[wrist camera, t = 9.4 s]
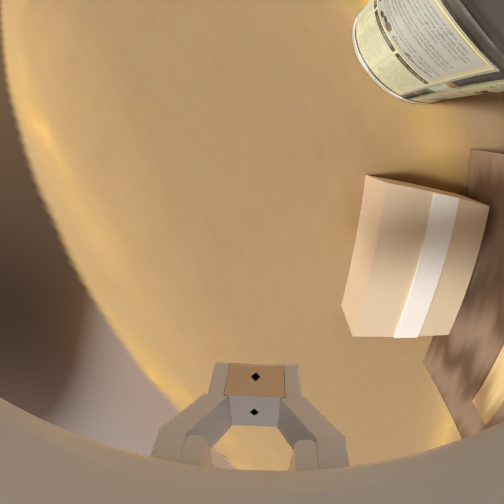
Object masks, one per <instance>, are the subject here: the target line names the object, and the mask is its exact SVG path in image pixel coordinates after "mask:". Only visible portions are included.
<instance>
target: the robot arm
mask: <svg viewBox="0 0 504 504" xmlns="http://www.w3.org/2000/svg"><path fill="white" fill-rule="evenodd" d="M231 425H247V426H272V427H278V429H279V431H280V432H281V433H282V435H283V436H284V438H285V439H286V440H287V442H288V443H289V445H290V446H291V447H292V449H293V454H292V458H291V462H290V466H289V470H288V471H258V470H238V469H225V468H215V467H214V464H213V461H212V458H211V454H210V449H211V448H212V447H213V446H214V445H215V444H216V443H217V442H218V440H219V439H220V438H221V437H222V436H223V435H224V434H225V433H226V432H227V430H228V429H229V428H230V427H231ZM0 504H504V422H502V423H500V424H497V425H495V426H493V427H491V428H489V429H486V430H484V431H481V432H479V433H477V434H474V435H472V436H469V437H466V438H464V439H461V440H458V441H455V442H452V443H449V444H446V445H443V446H440V447H437V448H434V449H430V450H427V451H423V452H420V453H416V454H412V455H408V456H404V457H399V458H395V459H390V460H385V461H380V462H374V463H368V464H362V465H355V466H349V461H348V454H347V448H346V442H345V437H344V436H343V435H342V434H341V433H340V432H339V431H338V430H337V429H336V428H335V427H334V426H333V425H332V424H331V423H330V422H329V421H328V420H327V419H326V418H325V417H324V416H323V415H322V414H321V413H320V412H319V411H318V410H317V409H316V408H315V407H314V406H313V405H312V404H311V403H310V402H309V401H308V400H307V399H306V398H303V397H301V389H300V377H299V366H298V365H297V364H288V365H266V364H257V365H256V364H240V363H223V362H216V363H215V365H214V370H213V374H212V378H211V383H210V387H209V391H208V394H203V395H202V396H201V397H199V398H198V399H197V400H196V401H194V402H193V403H192V404H191V405H189V406H188V407H187V408H186V409H184V410H183V411H182V412H181V413H179V414H178V415H177V416H175V417H174V418H173V419H172V420H170V421H169V422H168V423H166V424H165V425H164V426H163V427H161V428H160V430H159V432H158V435H157V439H156V441H155V444H154V447H153V450H152V453H151V456H145V455H141V454H137V453H133V452H129V451H126V450H122V449H119V448H115V447H112V446H108V445H105V444H102V443H99V442H96V441H93V440H90V439H87V438H85V437H82V436H79V435H77V434H74V433H72V432H69V431H66V430H64V429H62V428H59V427H57V426H55V425H52V424H50V423H48V422H46V421H44V420H41V419H39V418H37V417H35V416H33V415H31V414H29V413H27V412H25V411H23V410H21V409H19V408H18V407H16V406H14V405H12V404H10V403H9V402H6V401H5V400H3V399H2V398H0Z"/></svg>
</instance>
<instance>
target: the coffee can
mask: <svg viewBox="0 0 504 504" xmlns="http://www.w3.org/2000/svg"><path fill="white" fill-rule="evenodd" d="M352 41H353V45H354V49H355V52H356V55H357V57H358V59H359V61H360V63H361V65H362V66H363V68H364V69H365V71H366V72H367V73H368V75H369V76H370V77H371V78H372V79H373V80H374V81H375V83H376V84H378V85H379V86H380V87H381V88H383V89H384V90H385V91H386V92H388V93H389V94H391V95H392V96H394V97H396V98H398V99H400V100H403V101H406V102H409V103H414V104H429V103H433V102H436V101H440V100H445V99H452V98H458V97H464V96H471V95H478V94H487V93H498V92H504V0H369V2H368V3H367V4H366V6H365V7H364V9H362V10H361V11H360V13H359V14H358V15H357V17H356V19H355V21H354V24H353V30H352Z"/></svg>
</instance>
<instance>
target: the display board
mask: <svg viewBox="0 0 504 504" xmlns="http://www.w3.org/2000/svg"><path fill="white" fill-rule="evenodd" d="M467 198H470V199H473V200H475V201H478V202H480V203H483V204H485V205H487V206H490V207H489V212H488V217H487V221H486V226H485V230H484V234H483V238H482V242H481V246H480V249H479V253H478V256H477V260H476V263H475V266H474V270H473V273H472V276H471V279H470V282H469V285H468V288H467V290H466V293H465V296H464V299H463V301H462V304H461V306H460V309H459V311H458V314H457V316H456V319H455V321H454V323H453V326H452V328H451V330H450V333H449V335H434V336H433V338H432V341H431V344H430V346H429V349H428V351H427V354H426V356H425V359H424V361H423V362H424V364H425V366H426V368H427V370H428V371H429V373H430V375H431V377H432V379H433V381H434V383H435V384H436V386H437V388H438V390H439V392H440V394H441V396H442V398H443V400H444V402H445V404H446V406H447V408H448V410H449V412H450V414H451V416H452V418H453V420H454V422H455V424H456V427H457V429H458V431H459V433H460V435H461V437H462V439H464V438H466V437H469V436H472V435H474V434H477V433H479V432H481V431H484V430H486V429H489V428H491V427H493V426H495V425H497V424H500V423H502V422H504V154H500V153H494V152H488V151H481V150H474V149H471V155H470V171H469V183H468V193H467Z"/></svg>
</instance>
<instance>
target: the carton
mask: <svg viewBox="0 0 504 504" xmlns="http://www.w3.org/2000/svg"><path fill="white" fill-rule="evenodd" d="M489 207H490V206H487V205H485V204H483V203H480V202H478V201H475V200H473V199H470V198H467V197H465V196H462V195H460V194H456V193H452V192H448V191H443V190H439V189H435V188H431V187H426V186H422V185H417V184H412V183H407V182H402V181H397V180H392V179H386V178H381V177H375V176H369V175H366V178H365V185H364V192H363V199H362V206H361V212H360V218H359V224H358V230H357V235H356V241H355V246H354V251H353V256H352V261H351V266H350V271H349V275H348V280H347V284H346V289H345V293H344V297H343V301H342V305H341V307H342V309H343V312H344V314H345V317H346V320H347V322H348V325H349V328H350V330H351V333H352V336H363V337H394V338H416V337H418V336H434V335H449V333H450V330H451V328H452V326H453V323H454V321H455V319H456V316H457V314H458V311H459V309H460V306H461V304H462V301H463V299H464V296H465V293H466V290H467V288H468V285H469V282H470V279H471V276H472V273H473V270H474V266H475V263H476V260H477V256H478V253H479V249H480V246H481V242H482V238H483V234H484V230H485V226H486V221H487V217H488V212H489Z"/></svg>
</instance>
